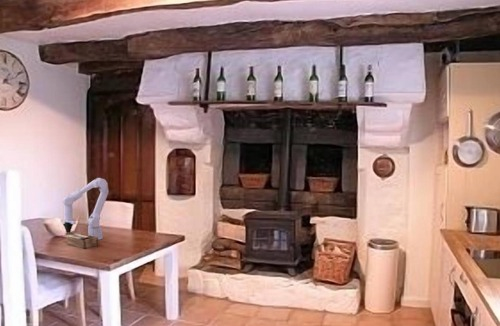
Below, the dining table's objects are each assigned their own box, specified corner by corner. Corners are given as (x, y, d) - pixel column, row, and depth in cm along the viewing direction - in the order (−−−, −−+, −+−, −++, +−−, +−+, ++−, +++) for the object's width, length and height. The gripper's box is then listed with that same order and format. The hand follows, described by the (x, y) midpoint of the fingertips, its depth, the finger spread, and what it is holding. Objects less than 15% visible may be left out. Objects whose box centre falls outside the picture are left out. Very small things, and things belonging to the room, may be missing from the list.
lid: (74, 234, 333) (74, 230, 333) (88, 237, 324) (88, 234, 323) (62, 236, 325) (62, 233, 325) (76, 239, 316) (76, 236, 316)
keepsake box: (81, 241, 330) (81, 233, 330) (98, 245, 320) (97, 237, 319) (67, 244, 321) (67, 236, 321) (83, 248, 311) (83, 240, 310)
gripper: (56, 213, 329) (57, 232, 330) (69, 215, 321) (69, 235, 322) (65, 212, 335) (66, 231, 336) (78, 214, 327) (78, 234, 328)
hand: (68, 233), depth 329 cm, fingers closed
